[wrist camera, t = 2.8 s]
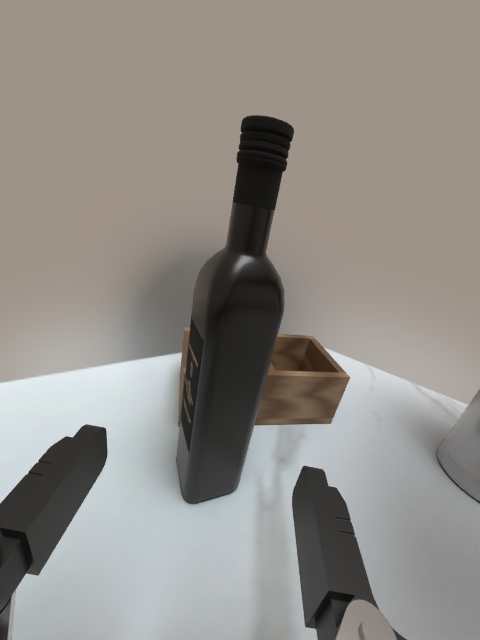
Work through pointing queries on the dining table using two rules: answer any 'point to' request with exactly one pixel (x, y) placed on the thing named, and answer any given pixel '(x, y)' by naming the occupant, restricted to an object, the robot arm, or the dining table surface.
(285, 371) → the bottle rack
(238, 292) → the wine bottle
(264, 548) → the dining table surface
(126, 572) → the dining table surface
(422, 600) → the dining table surface
